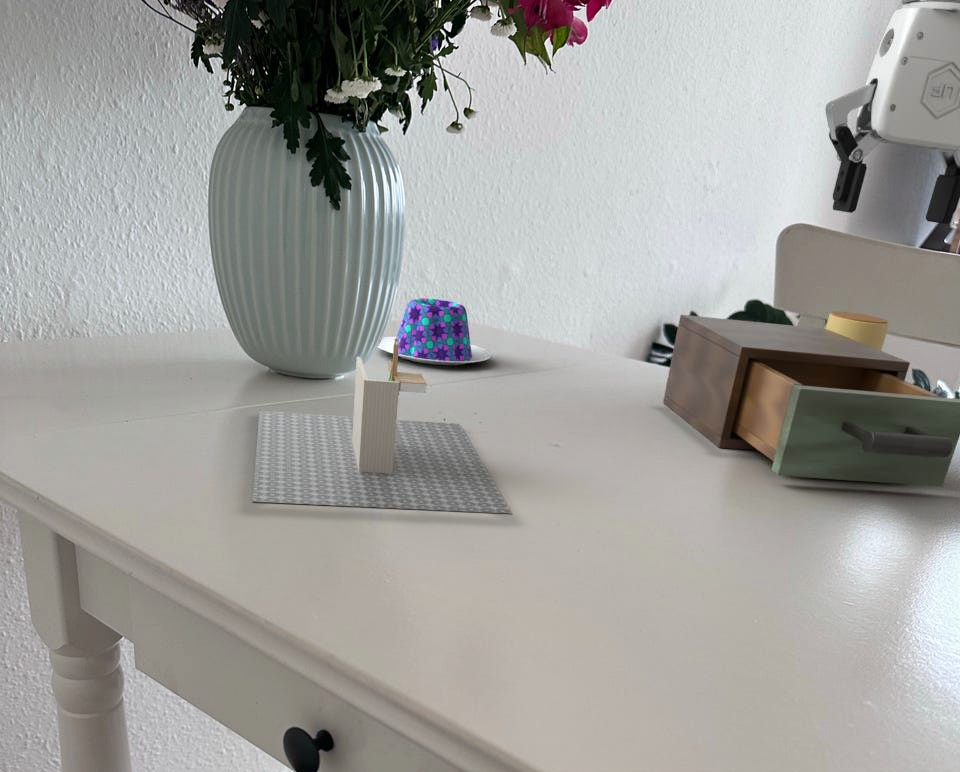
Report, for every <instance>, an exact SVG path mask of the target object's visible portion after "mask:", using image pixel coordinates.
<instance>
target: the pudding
mask: <svg viewBox="0 0 960 772" xmlns="http://www.w3.org/2000/svg"><path fill="white" fill-rule="evenodd" d="M470 337H471V336H470V328H469V321H468V313H467V310H466V307H465V306H464V305H463V304H461V303H457V302H454V301H450V300H444V299H443V300H442V299H439V298H423V297H422V298H421V297H420V298H413V299H411V300H409V301H408V303H407V304H406V306H405V310H404V312H403V315H402V319H401V323H400V325H399V329H398V331H397V334H396V335H394V336H386V337H382V338H383V339H382V341H381V343H380V344H379V346H378V347H377V348H378V349H380V350H383V351H384V352H387V353H390V354H392V355H393V349H394V344H395V338H396V339H398V340H397V341H398V343H399V351H398V358H401V359H404V360H408V361H411V362H415V363H422V364H428V365H429V364H430V365H437V366H438V365H439V366H461V365H466V364H473V363H480V362H484V361H487V360H489V359H491V358H492V356H493V355H492V353H491V352H490V351H488V350H487V349H485V348H483V347H480V346H477V345H474V344H471V338H470Z"/></svg>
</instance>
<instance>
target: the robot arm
mask: <svg viewBox="0 0 960 772" xmlns="http://www.w3.org/2000/svg"><path fill="white" fill-rule="evenodd" d="M900 3H901V4H902V5H901V8H900V9H896V10H894V12H893V14H892V15H891V18H890V20H889V22H888V25H887V27H886V29H885V31H884V33H883V36H882V38H881V40H880V43H879V46H878V48H877V51H876V53H875V56H874V59H873V61H872V63H871V67H870V70H869V73H868V76H867V79H866V81H865V85H864V86H862V87H861V88H858V89H855V90H853V91H851V92H849V93H847V94H844V95H842V96H840V97H837V98H835V99H833V100H830V101H829V102H827V104H825V115H826V121H827V126H828V129H829V131H828V132H829V133H828V137H829V138H828V139H829V140H830V142H831V144H832V145H833V148H834V150H835V152H836V159H837V160H838V161H839V162H840V165H839V169H838V173H837V176H836V179H835V184H834V188H833V192H832V200H833V204H832V210H833V211H835V212H836V211H837V212H842V213H850V214H852V213H854V212H855V211H856V210H857V207H858V203H859V200H860V195H861V192H862V188H863V184H864V180H865V176H866V173H867V168H868V167H867V163H863V162H864V158H866V157H867V156H868V155H869V154H870V153H871V152H872V151H873V150H874V149H875V148H876V147H877V146H878V145H879V144H880V143H883V144H890V145H897V146H898V145H899V146H904V147H913V148H921V149H928V150H937V151H938V154H939V156H940V157H939V158H940V159H941V162H942V165H943V168H944V174H938V176H937V178H936V180H935V184H934V187H933V190H932V194H931V198H930V200H929V204H928V207H927V211H926V214H925V220H926V221H927V222H931V223H937V224H943V225H949V224H950V223H951V221H952V218H953V216H954V213H955V212H956V211H957V208H958V204H959V202H960V0H901V2H900ZM856 109H858V111H857V115H856V120H855V133H854V134H853V133H852V130H851V129H850V128H849V126H848V122H849V121H848V115H849V114H850V112H852V111H854V110H856Z"/></svg>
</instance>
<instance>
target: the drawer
mask: <svg viewBox="0 0 960 772" xmlns="http://www.w3.org/2000/svg"><path fill="white" fill-rule="evenodd" d="M732 431H733V432H734V433H736V434H737V435H738V436H740V437H741V438H743V439H744V440H745V441H747V442H748V443H749V444H751V445H752V446H753V447H755V448H756V449H757V450H756V451H758V450H759V452H760V453H762V454H763V455H764V456H766V457H767V458H768V459H769V460H771V461H772V466H771V472H773V473H774V474H775V475H777V476H780V477H796V478H810V479H824V480H839V481H853V482H855V481H856V482H857V481H858V482H870V483H883V484H884V483H885V484H900V485H915V486H916V485H917V486H931V487H943V486H944V482H945V480H946V477H947V475H948V471H949V469H950V465H951V462H952V460H953V456H954V454H955V451H956V449H957V445H958V443H959V440H960V398H950V397H942V396H941V395H939V394H936V393H934V392H932V391H929V390H927V389H924V388H922V387H920V386H917V385H915V384H913V383H910V382H909V381H907V380H905V381H904V380H902V379H899V378H897V377H895V376H893V375H890V374H888V373H886V372H883V371H881V370H877V369H866V368H855V367H844V366H833V365H822V364H811V363H800V362H789V361H778V360H767V359H756V358H749V359H748V364H747V368H746V372H745V376H744V381H743V385H742V389H741V393H740V398H739V402H738V406H737V410H736V414H735V419H734V423H733V427H732Z"/></svg>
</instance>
